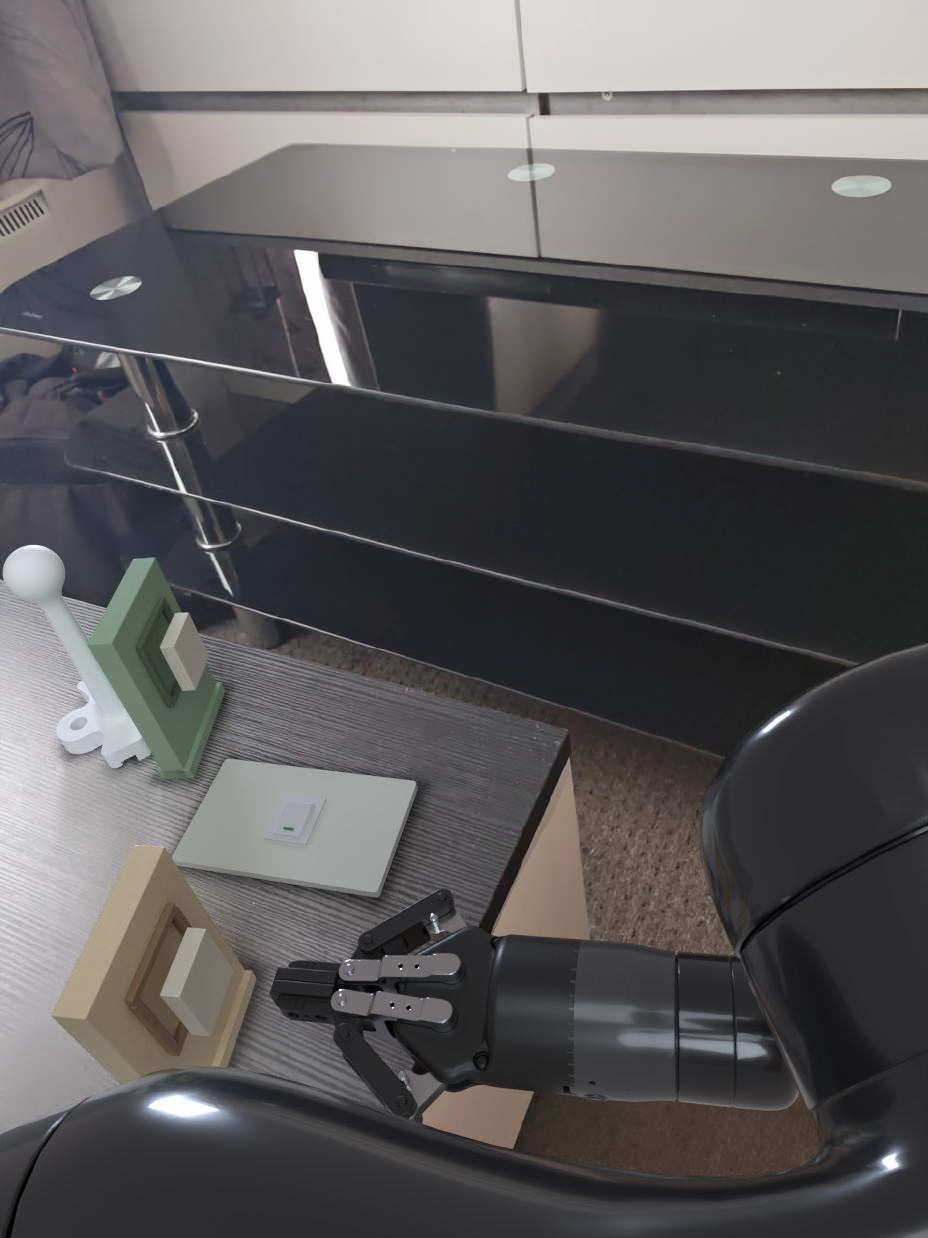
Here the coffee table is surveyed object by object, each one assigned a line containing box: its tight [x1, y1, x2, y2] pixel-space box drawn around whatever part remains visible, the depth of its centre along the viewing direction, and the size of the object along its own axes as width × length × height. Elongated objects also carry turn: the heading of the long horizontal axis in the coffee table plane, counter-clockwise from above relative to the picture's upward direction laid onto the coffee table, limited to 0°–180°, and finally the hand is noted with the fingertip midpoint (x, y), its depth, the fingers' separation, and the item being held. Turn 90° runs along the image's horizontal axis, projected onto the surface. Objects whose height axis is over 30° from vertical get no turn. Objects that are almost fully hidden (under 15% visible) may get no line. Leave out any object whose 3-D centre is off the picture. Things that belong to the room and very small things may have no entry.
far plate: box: [87, 557, 226, 780], centre depth 76 cm, size 3×10×16 cm, turn 176°
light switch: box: [171, 758, 419, 898], centre depth 72 cm, size 17×1×10 cm
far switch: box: [160, 612, 210, 691], centre depth 74 cm, size 1×4×5 cm, turn 176°
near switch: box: [160, 927, 234, 1037], centre depth 52 cm, size 1×4×5 cm, turn 171°
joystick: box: [2, 544, 152, 769], centre depth 77 cm, size 11×8×20 cm
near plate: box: [50, 844, 258, 1085], centre depth 54 cm, size 3×10×16 cm, turn 171°
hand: (277, 988), depth 51 cm, fingers closed
